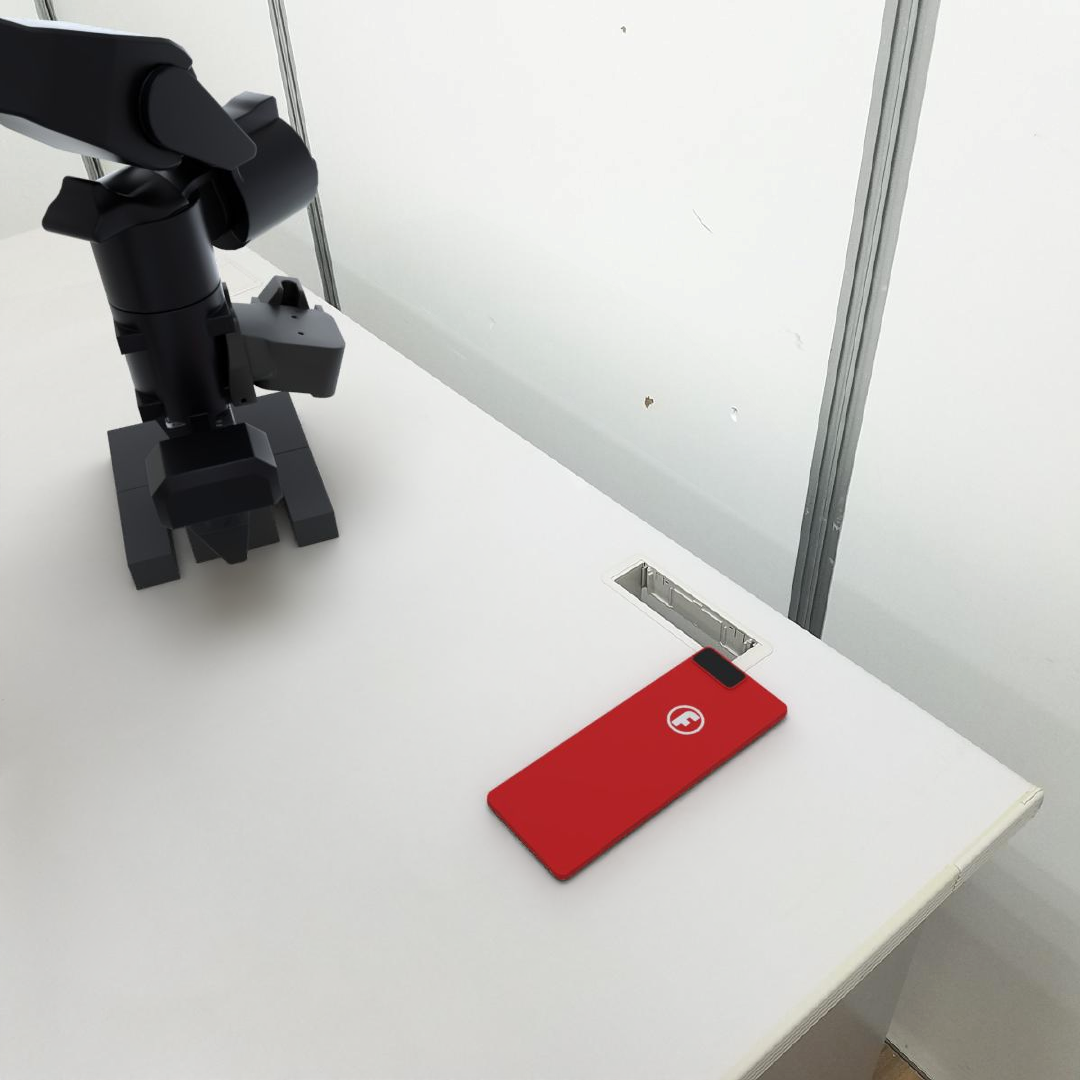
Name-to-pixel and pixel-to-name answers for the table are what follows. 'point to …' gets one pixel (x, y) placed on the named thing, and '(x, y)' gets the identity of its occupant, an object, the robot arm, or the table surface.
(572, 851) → the electronic device
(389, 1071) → the table surface
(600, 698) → the table surface
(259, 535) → the black block
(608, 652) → the table surface
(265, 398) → the dark gray pronged block
